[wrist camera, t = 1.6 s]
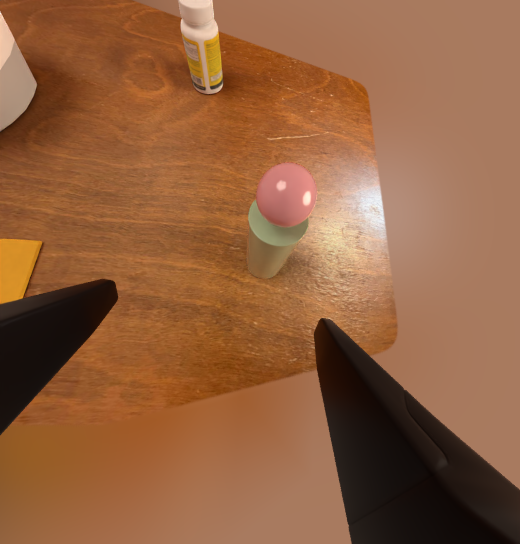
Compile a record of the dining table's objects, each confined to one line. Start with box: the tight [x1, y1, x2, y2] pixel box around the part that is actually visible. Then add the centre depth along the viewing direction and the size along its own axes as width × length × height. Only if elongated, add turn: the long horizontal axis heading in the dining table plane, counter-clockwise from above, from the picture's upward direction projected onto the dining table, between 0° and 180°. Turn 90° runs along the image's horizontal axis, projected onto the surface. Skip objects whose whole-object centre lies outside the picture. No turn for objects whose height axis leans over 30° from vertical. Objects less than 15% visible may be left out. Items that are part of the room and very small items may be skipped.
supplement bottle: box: [178, 0, 223, 94], centre depth 26 cm, size 5×5×8 cm
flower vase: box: [246, 162, 317, 279], centre depth 16 cm, size 4×4×14 cm
